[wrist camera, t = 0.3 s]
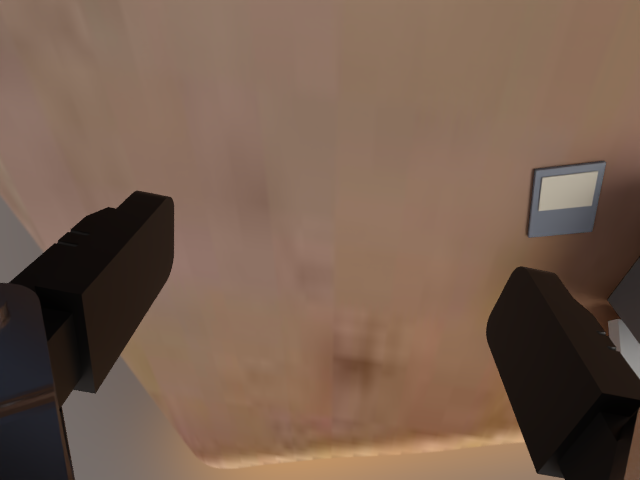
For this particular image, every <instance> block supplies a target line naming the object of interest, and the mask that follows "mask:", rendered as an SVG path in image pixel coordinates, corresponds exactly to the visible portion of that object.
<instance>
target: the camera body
mask: <svg viewBox="0 0 640 480" xmlns="http://www.w3.org/2000/svg"><path fill="white" fill-rule="evenodd" d="M608 301H609V303H610V304H611V306H612V307H613V308H614V310H615V311H616V312H617V314H618V315H619V317H620V318H621V319H622V321H623V322H624V323H625V325H626V326H627V328H628V329H629V330H630V332H631V333H632V334H633V336H634V337H635V339H636V340H637V341H638V343H639V344H640V257H639V258H638V260H637V261H636V262H635V264H634V265H633V266H632V268H631V269H630V270H629V272H628V273H627V274H626V276H625V277H624V278H623V280H622V281H621V282H620V284H619V285H618V286H617V288H616V289H615V290H614V292H613V293H612V294H611V296H610V297H609V298H608Z"/></svg>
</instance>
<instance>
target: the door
mask: <svg viewBox="0 0 640 480" xmlns="http://www.w3.org/2000/svg"><path fill="white" fill-rule="evenodd" d="M608 328H609V338H610V339H611V340H612V342H613V343H614V345H615V346H616V347H617V348H616V351H619V352H620V353H621V354H622V356H623V357H624V358H625V360H626V361H627V362H628V364H629V365H630V367H631V368H632V369H633V371H634V372H635V373H636V375H637V376H638V378H639V379H640V344H639V343H638V341H637V340H636V339H635V337H634V336H633V334H632V333H631V332H630V330H629V329H628V328H627V326H626V325H625V323H624V322H623V321H622V319H615V320H611V321H608Z"/></svg>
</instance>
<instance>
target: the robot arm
mask: <svg viewBox="0 0 640 480" xmlns="http://www.w3.org/2000/svg"><path fill="white" fill-rule="evenodd" d="M173 258H174V203H173V200H172V198H171V197H168V196H163V195H158V194H152V193H147V192H142V191H135V192H134V193H132V194H131V195H130V196H129V197H128V198H127V199H126V200H125V201H124V202H123V203H122V204H121V205H120V206H119V207H118V208H116V209H115V208H110V207H107V208H105V209H103V210H100V211H98V212H95V213H93V214H90V215H88V216H86V217H85V218H83V219H82V220H81V221H80V222H79V223H78V224H77V225H75V226H74V227H73V228H72V229H71V232H67V233H66V234H65V235H64V236H63V237H61V238H60V239H59V240H58V243H57V244H56V243H54V244H53V245H52V246H51V247H50V248H49V249H48V250H46V251H45V252H44V253H43V254H42V255H41V256H40V257H38V258H37V259H36V260H35V261H34V262H32V263H31V264H30V265H29V266H28V267H27V268H25V269H24V270H23V271H22V272H21V273H20V274H19V275H17V276H16V277H15V278H14V279H13V280H12V281H11V282H9V283H0V480H75V477H74V471H73V466H72V460H71V455H70V449H69V444H68V438H67V432H66V427H65V421H64V415H63V410H62V405H63V403H64V402H65V400H66V399H67V398H68V396H69V394H70V393H71V392H72V390H79V391H84V392H90V393H96V392H97V390H98V389H99V387H100V385H101V384H102V382H103V381H104V379H105V378H106V376H107V375H108V373H109V371H110V370H111V368H112V367H113V365H114V363H115V362H116V360H117V359H118V357H119V356H120V354H121V352H122V351H123V349H124V348H125V346H126V345H127V343H128V341H129V340H130V338H131V337H132V335H133V333H134V332H135V330H136V329H137V327H138V326H139V324H140V322H141V321H142V319H143V318H144V316H145V314H146V313H147V311H148V310H149V308H150V307H151V305H152V303H153V302H154V300H155V299H156V297H157V295H158V294H159V292H160V291H161V289H162V288H163V286H164V284H165V283H166V281H167V279H168V277H169V275H170V272H171V269H172V264H173ZM605 333H606V332H605V331H604V329H603V328H602V327H601V325H600V324H599V323H598V321H597V320H596V318H595V317H594V316H593V315H592V314H591V313H590V312H589V311H588V310H587V309H585V308H584V307H583V306H582V305H581V304H580V303H578V302H577V301H576V300H575V299H574V298H573V297H572V296H571V294H570V293H569V292H568V290H567V289H566V287H565V286H564V285H563V283H562V282H561V280H560V279H559V277H558V276H557V275H556V274H555V273H552V272H547V271H542V270H537V269H532V268H527V267H518V268H516V269H515V270H514V271H513V272H512V274H511V276H510V278H509V280H508V281H507V283H506V285H505V287H504V289H503V291H502V293H501V295H500V297H499V299H498V301H497V303H496V304H495V306H494V308H493V310H492V312H491V314H490V316H489V319H488V322H487V329H486V336H487V342H488V345H489V347H490V350H491V353H492V355H493V358H494V360H495V363H496V366H497V368H498V371H499V374H500V376H501V379H502V382H503V384H504V387H505V390H506V392H507V395H508V398H509V400H510V403H511V406H512V408H513V411H514V414H515V416H516V419H517V422H518V424H519V427H520V429H521V432H522V435H523V437H524V440H525V443H526V445H527V448H528V451H529V453H530V456H531V459H532V461H533V464H534V466H535V469H536V472H537V473H538V474H542V475H548V476H554V477H559V478H564V479H565V480H640V379H639V378H638V376H637V375H636V373H635V372H634V371H633V369H632V368H631V367H630V365H629V364H628V362H627V361H626V360H625V358H624V357H623V356H622V354H621V353H620V352H619V351H616V348H617V347H616V346H615V345H614V343H613V342H612V340H611V339H610V338H609V336H605Z"/></svg>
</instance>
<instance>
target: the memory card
mask: <svg viewBox="0 0 640 480" xmlns="http://www.w3.org/2000/svg"><path fill="white" fill-rule="evenodd" d="M605 166H606V162H605V161H599V162H590V163H582V164H574V165H565V166H557V167H549V168H540V169H535V171H534V181H533V190H532V199H531V208H530V218H529V227H528V237H529V238H530V237H541V236H552V235H562V234H573V233H584V232H592V230H593V225H594V220H595V215H596V210H597V205H598V200H599V195H600V190H601V185H602V181H603V176H604V171H605Z"/></svg>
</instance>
